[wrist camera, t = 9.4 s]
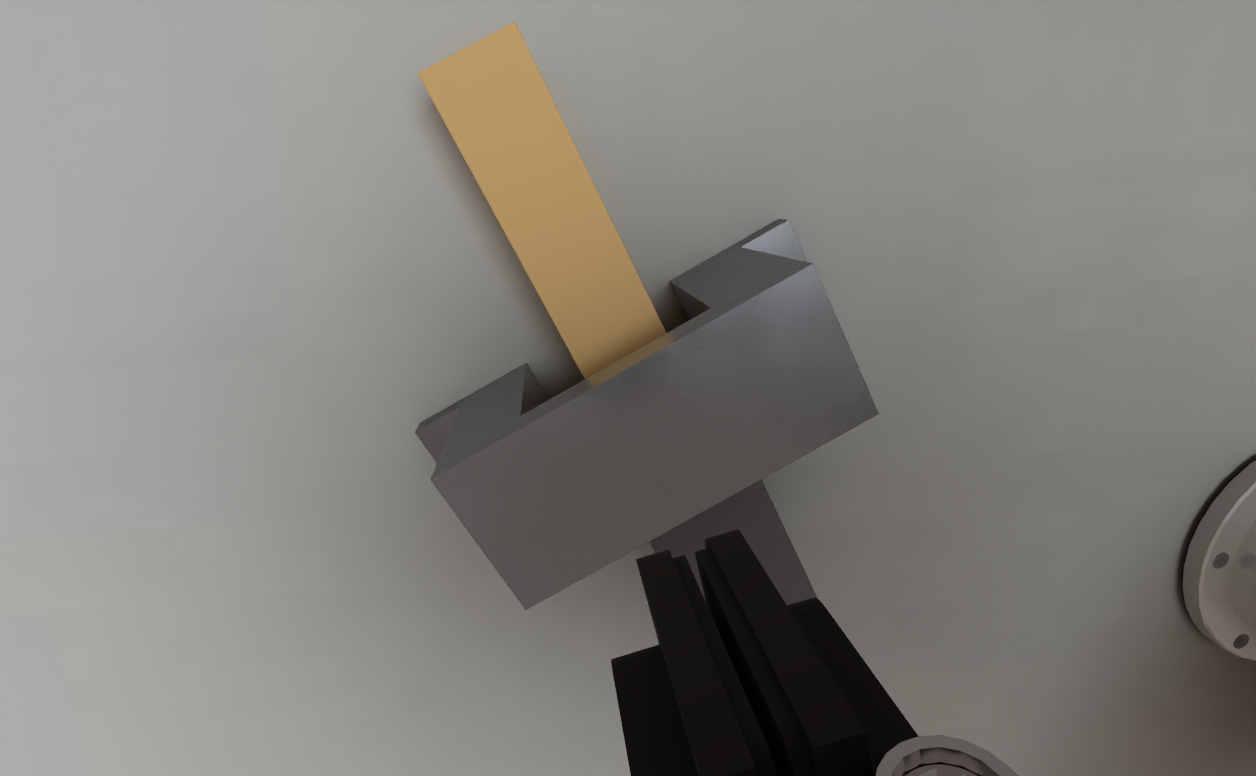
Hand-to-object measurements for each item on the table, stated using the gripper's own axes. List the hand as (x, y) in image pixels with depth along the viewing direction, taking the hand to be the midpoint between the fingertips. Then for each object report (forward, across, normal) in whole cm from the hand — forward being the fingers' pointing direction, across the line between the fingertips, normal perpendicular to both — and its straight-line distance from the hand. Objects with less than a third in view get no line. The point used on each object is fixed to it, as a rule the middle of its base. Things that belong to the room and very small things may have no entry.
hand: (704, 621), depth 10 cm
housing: (+16, -1, +1) cm, 16 cm away
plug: (+16, -1, 0) cm, 16 cm away
